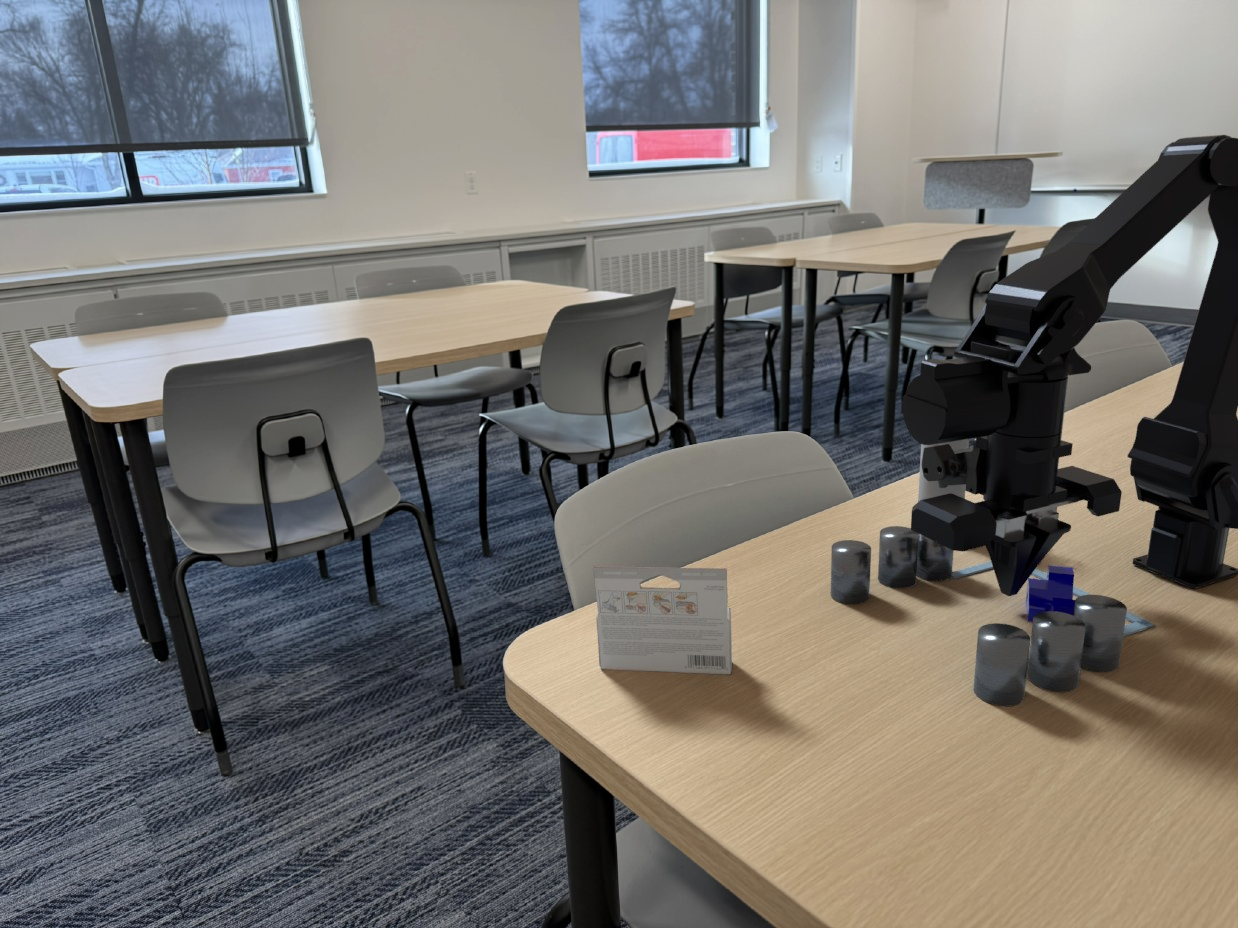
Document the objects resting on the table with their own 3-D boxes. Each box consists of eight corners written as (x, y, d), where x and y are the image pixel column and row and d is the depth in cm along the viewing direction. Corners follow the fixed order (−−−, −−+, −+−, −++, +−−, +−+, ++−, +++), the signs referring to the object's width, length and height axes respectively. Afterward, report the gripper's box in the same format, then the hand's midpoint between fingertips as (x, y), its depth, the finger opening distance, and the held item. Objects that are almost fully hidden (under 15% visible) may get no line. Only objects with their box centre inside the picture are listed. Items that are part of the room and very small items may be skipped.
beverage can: (965, 540, 93) (973, 434, 89) (919, 538, 94) (925, 433, 90) (958, 523, 97) (965, 421, 93) (913, 522, 98) (919, 421, 94)
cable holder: (1025, 602, 79) (1029, 563, 78) (1067, 607, 78) (1072, 567, 77) (1029, 645, 72) (1033, 603, 71) (1075, 651, 71) (1081, 608, 70)
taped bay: (1009, 558, 88) (1009, 556, 88) (1154, 626, 74) (1154, 623, 74) (947, 574, 85) (947, 572, 85) (1086, 648, 71) (1086, 646, 71)
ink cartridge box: (604, 656, 74) (597, 553, 71) (732, 661, 72) (730, 555, 69) (599, 671, 72) (591, 566, 69) (731, 677, 70) (729, 569, 67)
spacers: (930, 560, 88) (933, 516, 87) (1135, 668, 68) (1143, 611, 66) (820, 589, 84) (820, 542, 82) (1003, 714, 63) (1009, 655, 62)
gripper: (1031, 394, 83) (1016, 542, 88) (873, 423, 76) (867, 581, 81) (1136, 420, 73) (1113, 585, 78) (965, 455, 67) (951, 633, 71)
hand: (1008, 593), depth 77 cm, fingers closed
